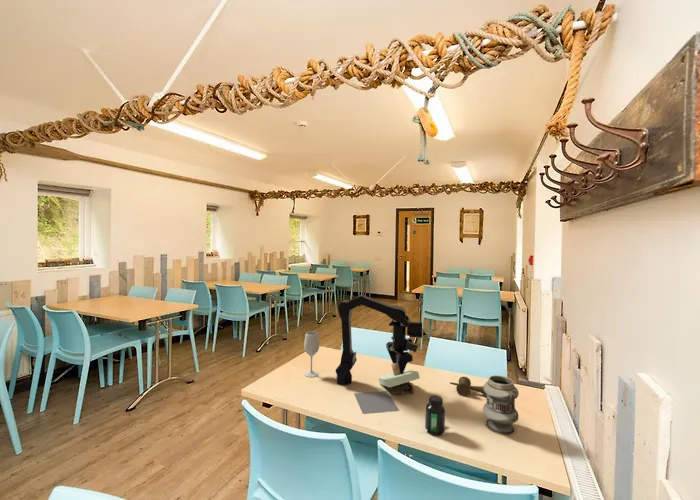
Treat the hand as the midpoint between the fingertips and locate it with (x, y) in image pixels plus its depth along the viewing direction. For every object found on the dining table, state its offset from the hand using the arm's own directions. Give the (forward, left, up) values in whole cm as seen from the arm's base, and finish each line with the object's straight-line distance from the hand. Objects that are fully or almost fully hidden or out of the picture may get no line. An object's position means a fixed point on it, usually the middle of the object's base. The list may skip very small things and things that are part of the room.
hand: (398, 369), depth 149 cm
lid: (0, -1, -5) cm, 5 cm away
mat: (-13, -9, -10) cm, 19 cm away
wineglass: (-37, +25, -10) cm, 46 cm away
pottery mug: (+2, -1, -10) cm, 11 cm away
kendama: (+33, -7, -10) cm, 35 cm away
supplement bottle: (+3, -31, -10) cm, 33 cm away
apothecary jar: (+28, -33, -10) cm, 44 cm away
